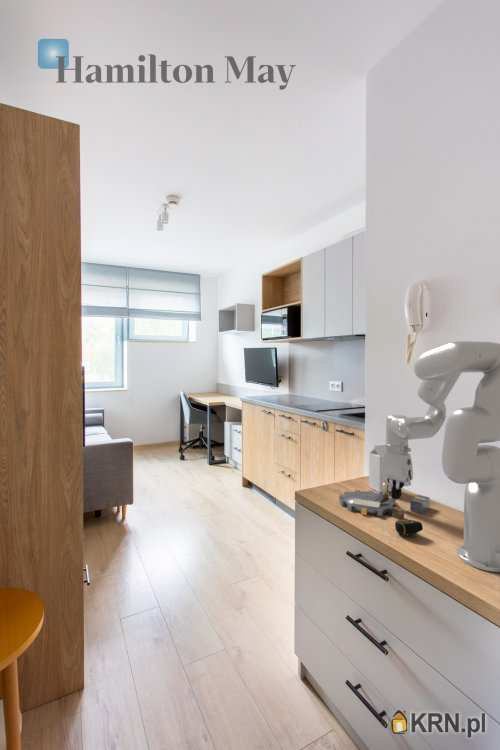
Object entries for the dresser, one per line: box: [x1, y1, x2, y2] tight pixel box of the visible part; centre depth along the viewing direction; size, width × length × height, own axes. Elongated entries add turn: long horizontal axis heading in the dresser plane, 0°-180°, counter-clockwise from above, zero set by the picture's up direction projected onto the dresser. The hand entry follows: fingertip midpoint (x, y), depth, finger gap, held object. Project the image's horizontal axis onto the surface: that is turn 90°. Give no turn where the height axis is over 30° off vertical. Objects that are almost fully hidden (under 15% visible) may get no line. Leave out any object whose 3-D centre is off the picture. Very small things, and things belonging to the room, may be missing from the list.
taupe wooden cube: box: [391, 506, 405, 520], centre depth 124 cm, size 3×2×3 cm
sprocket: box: [338, 482, 399, 517], centre depth 134 cm, size 21×21×8 cm
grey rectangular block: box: [409, 494, 431, 515], centre depth 131 cm, size 4×8×4 cm, turn 136°
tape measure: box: [394, 518, 424, 536], centre depth 111 cm, size 7×7×4 cm
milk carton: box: [368, 444, 392, 494], centre depth 152 cm, size 7×7×19 cm
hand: (396, 498), depth 132 cm, fingers closed
